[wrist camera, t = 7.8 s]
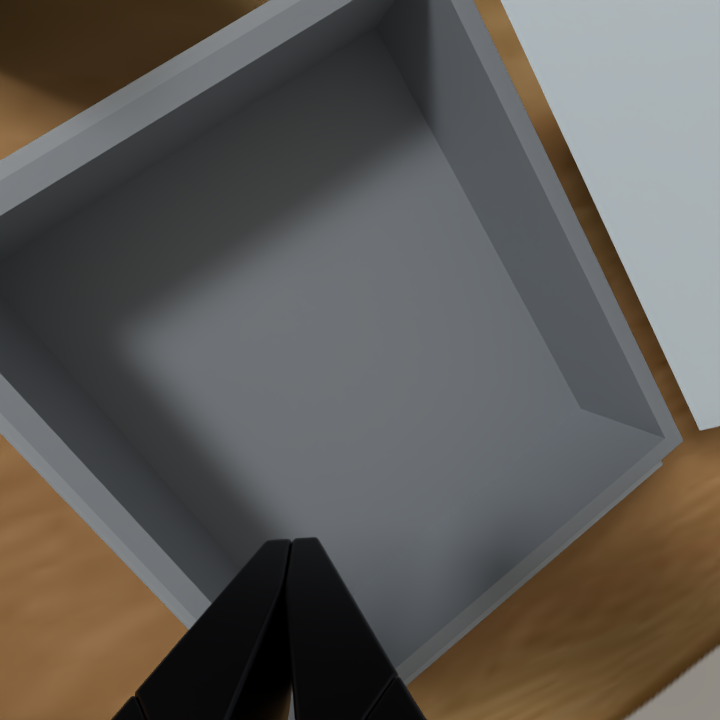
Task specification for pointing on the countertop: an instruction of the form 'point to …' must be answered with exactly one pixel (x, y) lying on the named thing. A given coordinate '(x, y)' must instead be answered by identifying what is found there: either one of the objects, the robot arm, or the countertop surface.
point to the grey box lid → (646, 155)
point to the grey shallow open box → (321, 320)
